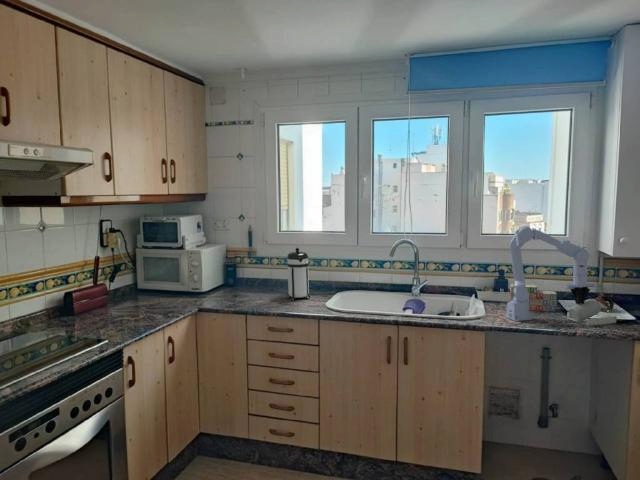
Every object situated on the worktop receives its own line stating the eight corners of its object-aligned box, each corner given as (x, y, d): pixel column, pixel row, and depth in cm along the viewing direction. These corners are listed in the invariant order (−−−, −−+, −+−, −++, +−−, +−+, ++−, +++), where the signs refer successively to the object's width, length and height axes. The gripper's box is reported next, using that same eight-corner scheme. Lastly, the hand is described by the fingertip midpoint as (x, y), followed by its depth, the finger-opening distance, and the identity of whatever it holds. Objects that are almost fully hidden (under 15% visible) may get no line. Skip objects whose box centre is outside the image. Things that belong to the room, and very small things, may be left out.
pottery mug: (599, 307, 243) (608, 295, 239) (610, 319, 236) (620, 307, 231) (580, 303, 241) (589, 291, 237) (590, 315, 233) (600, 303, 229)
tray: (588, 325, 211) (588, 319, 211) (567, 318, 224) (567, 312, 223) (616, 323, 214) (616, 316, 214) (593, 315, 227) (594, 309, 227)
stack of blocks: (554, 309, 241) (555, 285, 240) (556, 312, 235) (557, 288, 234) (509, 306, 248) (510, 283, 247) (510, 309, 242) (510, 286, 241)
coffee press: (317, 296, 282) (315, 246, 278) (302, 302, 268) (300, 250, 265) (293, 293, 291) (292, 245, 288) (277, 298, 278) (276, 248, 274)
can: (579, 310, 212) (601, 300, 213) (567, 305, 219) (588, 295, 220) (581, 325, 214) (603, 315, 215) (569, 318, 221) (591, 309, 222)
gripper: (587, 271, 220) (587, 300, 222) (560, 274, 218) (559, 302, 219) (599, 274, 213) (598, 303, 215) (570, 276, 211) (570, 306, 212)
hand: (579, 303), depth 216 cm, fingers closed
